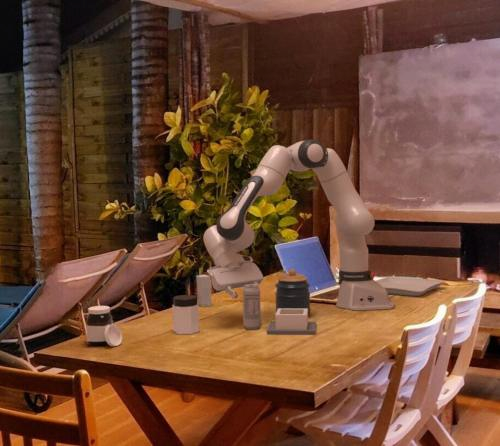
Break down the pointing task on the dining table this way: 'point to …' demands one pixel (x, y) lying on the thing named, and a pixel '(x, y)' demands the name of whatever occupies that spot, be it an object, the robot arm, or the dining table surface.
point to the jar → (185, 314)
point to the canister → (293, 291)
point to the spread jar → (102, 327)
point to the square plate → (408, 285)
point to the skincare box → (203, 290)
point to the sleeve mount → (291, 322)
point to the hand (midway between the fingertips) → (246, 295)
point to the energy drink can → (251, 307)
